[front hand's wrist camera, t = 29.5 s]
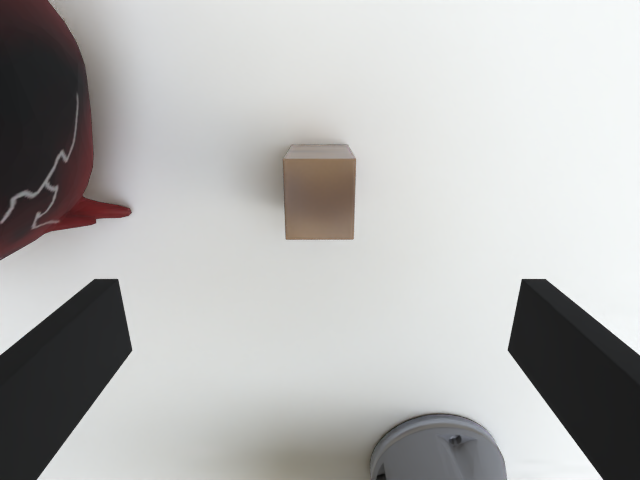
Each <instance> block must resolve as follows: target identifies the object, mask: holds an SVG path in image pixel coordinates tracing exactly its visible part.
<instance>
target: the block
mask: <svg viewBox="0 0 640 480" xmlns="http://www.w3.org/2000/svg"><path fill="white" fill-rule="evenodd" d="M283 175H284V204H285V234H286V239H287V240H318V239H354V209H355V177H356V158H355V157H354V155H353V153H352V151H351V150H350V148H349V146H348V145H291V147H290V148H289V150H288V152H287V153H286V155H285V157H284V158H283Z"/></svg>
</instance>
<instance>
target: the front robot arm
mask: <svg viewBox="0 0 640 480" xmlns="http://www.w3.org/2000/svg"><path fill="white" fill-rule="evenodd" d="M131 351H132V346H131V341H130V336H129V331H128V326H127V321H126V316H125V311H124V306H123V301H122V296H121V291H120V286H119V281H118V279H94V280H93V281H92V282H90V283H89V284H88V285H87V286H85V287H84V288H83V289H82V290H80V291H79V292H78V293H77V294H76V295H74V296H73V297H72V298H71V299H69V300H68V301H67V302H66V303H64V304H63V305H62V306H61V307H59V308H58V309H57V310H56V311H55V312H53V313H52V314H51V315H50V316H48V317H47V318H46V319H45V320H43V321H42V322H41V323H40V324H38V325H37V326H36V327H35V328H34V329H32V330H31V331H30V332H29V333H27V334H26V335H25V336H24V337H22V338H21V339H20V340H19V341H17V342H16V343H15V344H14V345H13V346H11V347H10V348H9V349H8V350H6V351H5V352H4V353H3V354H1V355H0V480H37V478H38V477H39V476H40V474H41V473H42V472H43V470H44V469H45V468H46V466H47V465H48V464H49V462H50V461H51V460H52V458H53V457H54V456H55V454H56V453H57V451H58V450H59V449H60V447H61V446H62V445H63V443H64V442H65V441H66V439H67V438H68V437H69V435H70V434H71V433H72V431H73V430H74V428H75V427H76V426H77V424H78V423H79V422H80V420H81V419H82V418H83V416H84V415H85V414H86V412H87V411H88V410H89V408H90V407H91V405H92V404H93V403H94V401H95V400H96V399H97V397H98V396H99V395H100V393H101V392H102V391H103V389H104V388H105V387H106V385H107V384H108V383H109V381H110V380H111V378H112V377H113V376H114V374H115V373H116V372H117V370H118V369H119V368H120V366H121V365H122V364H123V362H124V361H125V360H126V358H127V357H128V355H129V354H130V353H131ZM508 351H509V353H510V354H511V355H512V357H513V358H514V360H515V361H516V362H517V364H518V365H519V366H520V368H521V369H522V370H523V372H524V373H525V374H526V376H527V377H528V378H529V380H530V381H531V383H532V384H533V385H534V387H535V388H536V389H537V391H538V392H539V393H540V395H541V396H542V397H543V399H544V400H545V401H546V403H547V404H548V405H549V407H550V408H551V410H552V411H553V412H554V414H555V415H556V416H557V418H558V419H559V420H560V422H561V423H562V424H563V426H564V427H565V428H566V430H567V431H568V433H569V434H570V435H571V437H572V438H573V439H574V441H575V442H576V443H577V445H578V446H579V447H580V449H581V450H582V451H583V453H584V454H585V456H586V457H587V458H588V460H589V461H590V462H591V464H592V465H593V466H594V468H595V469H596V470H597V472H598V473H599V474H600V476H601V477H602V478H603V480H640V355H639V354H637V353H636V352H635V351H634V350H632V349H631V348H630V347H629V346H627V345H626V344H625V343H624V342H623V341H621V340H620V339H619V338H618V337H616V336H615V335H614V334H613V333H611V332H610V331H609V330H608V329H606V328H605V327H604V326H603V325H602V324H600V323H599V322H598V321H597V320H595V319H594V318H593V317H592V316H590V315H589V314H588V313H587V312H585V311H584V310H583V309H582V308H581V307H579V306H578V305H577V304H576V303H574V302H573V301H572V300H571V299H569V298H568V297H567V296H566V295H564V294H563V293H562V292H561V291H560V290H558V289H557V288H556V287H555V286H553V285H552V284H551V283H550V282H548V281H547V280H546V279H522V281H521V286H520V291H519V296H518V301H517V306H516V311H515V316H514V321H513V326H512V331H511V336H510V341H509V346H508ZM370 473H371V480H507V475H506V468H505V462H504V459H503V456H502V454H501V452H500V450H499V448H498V446H497V444H496V442H495V440H494V439H493V437H492V436H491V434H490V433H489V432H488V431H487V430H486V429H485V428H483V427H482V426H481V425H479V424H477V423H475V422H474V421H471V420H469V419H466V418H463V417H459V416H454V415H428V416H423V417H418V418H415V419H412V420H409V421H407V422H404V423H402V424H400V425H398V426H397V427H395V428H394V429H392V430H391V431H389V432H388V433H387V434H386V435H385V436H384V437H383V438H382V439H381V440H380V441H379V443H378V444H377V446H376V447H375V449H374V451H373V454H372V457H371V461H370Z"/></svg>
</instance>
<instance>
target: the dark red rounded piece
mask: <svg viewBox="0 0 640 480" xmlns="http://www.w3.org/2000/svg"><path fill="white" fill-rule="evenodd" d="M92 168H93V139H92V122H91V108H90V100H89V92H88V84H87V76H86V70H85V64H84V62H83V59H82V56H81V53H80V50H79V47H78V45H77V43H76V41H75V39H74V37H73V35H72V34H71V32H70V31H69V29H68V27H67V26H66V24H65V22H64V21H63V19H62V18H61V17H60V16H59V14H58V13H57V12H56V10H55V9H54V8H53V7H52V5H51V4H50V3H49V1H48V0H0V260H2V259H3V258H5V257H7V256H9V255H10V254H12V253H14V252H16V251H17V250H19V249H21V248H23V247H24V246H26V245H28V244H30V243H31V242H33V241H35V240H36V239H38V238H39V237H41V236H42V235H43V234H45V233H48V232H51V231H56V230H62V229H69V228H75V227H81V226H88V225H92V224H95V223H96V219H101V218H122V217H126V216H129V215H130V214H131V213H132V212H131V210H130V208H126V207H123V206H119V205H114V204H108V203H102V202H97V201H94V200H90V199H87V198H85V197H83V193H84V191H85V189H86V187H87V185H88V182H89V178H90V175H91V171H92Z"/></svg>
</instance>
